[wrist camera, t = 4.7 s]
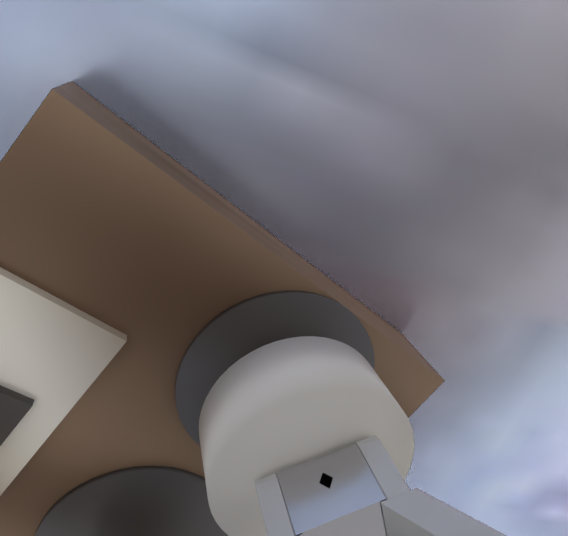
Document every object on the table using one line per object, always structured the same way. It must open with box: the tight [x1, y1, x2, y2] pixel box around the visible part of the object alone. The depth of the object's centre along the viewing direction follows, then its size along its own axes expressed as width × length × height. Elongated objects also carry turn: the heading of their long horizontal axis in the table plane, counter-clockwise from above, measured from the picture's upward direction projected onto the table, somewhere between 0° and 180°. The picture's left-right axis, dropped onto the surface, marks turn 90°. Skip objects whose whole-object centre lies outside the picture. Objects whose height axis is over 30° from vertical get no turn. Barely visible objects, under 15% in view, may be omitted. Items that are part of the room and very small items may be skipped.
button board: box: [0, 81, 445, 536], centre depth 15 cm, size 20×14×4 cm
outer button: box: [199, 336, 414, 536], centre depth 12 cm, size 5×5×2 cm
